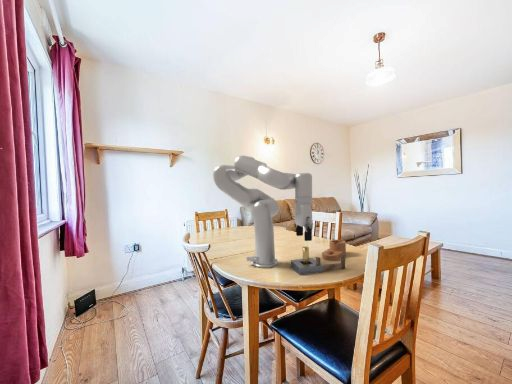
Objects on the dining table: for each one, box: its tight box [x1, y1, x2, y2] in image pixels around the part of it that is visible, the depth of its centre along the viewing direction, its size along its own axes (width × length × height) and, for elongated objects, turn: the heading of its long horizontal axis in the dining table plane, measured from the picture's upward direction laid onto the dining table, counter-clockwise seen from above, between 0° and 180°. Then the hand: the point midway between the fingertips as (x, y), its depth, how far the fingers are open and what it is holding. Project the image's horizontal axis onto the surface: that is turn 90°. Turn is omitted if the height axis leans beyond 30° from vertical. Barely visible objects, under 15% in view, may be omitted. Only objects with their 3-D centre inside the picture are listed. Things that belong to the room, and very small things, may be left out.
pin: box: [301, 246, 310, 265], centre depth 106 cm, size 3×3×10 cm
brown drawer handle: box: [315, 254, 347, 272], centre depth 104 cm, size 14×2×6 cm, turn 101°
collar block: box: [290, 257, 324, 276], centre depth 106 cm, size 11×11×3 cm
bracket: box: [321, 239, 347, 262], centre depth 123 cm, size 18×8×7 cm, turn 139°
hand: (303, 238), depth 106 cm, fingers open, 9 cm apart
